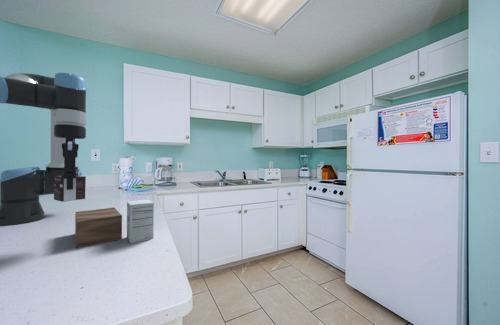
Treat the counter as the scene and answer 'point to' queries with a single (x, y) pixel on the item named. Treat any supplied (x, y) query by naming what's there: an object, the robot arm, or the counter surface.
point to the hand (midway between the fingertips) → (70, 198)
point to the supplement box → (140, 220)
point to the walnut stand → (97, 226)
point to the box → (60, 188)
